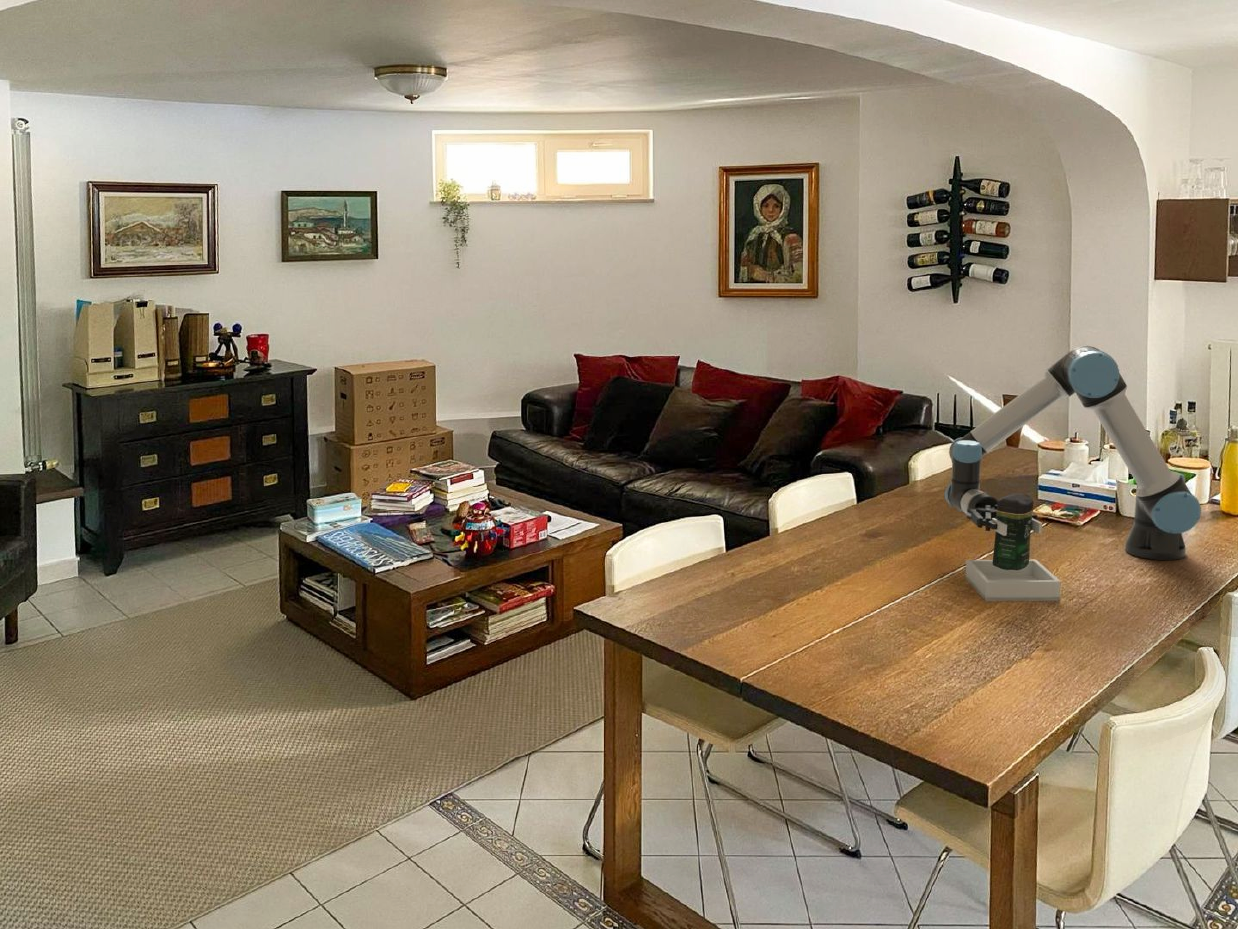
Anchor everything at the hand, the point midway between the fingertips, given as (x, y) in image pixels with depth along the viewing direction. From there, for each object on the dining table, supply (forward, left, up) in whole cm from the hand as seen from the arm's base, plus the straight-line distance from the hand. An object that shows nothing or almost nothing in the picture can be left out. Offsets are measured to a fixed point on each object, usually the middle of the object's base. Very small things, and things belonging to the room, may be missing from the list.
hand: (1022, 529), depth 264 cm
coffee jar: (+1, -5, -11) cm, 12 cm away
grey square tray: (+1, -5, -17) cm, 18 cm away
